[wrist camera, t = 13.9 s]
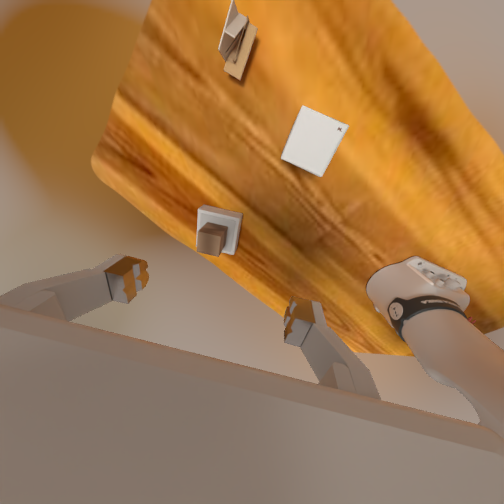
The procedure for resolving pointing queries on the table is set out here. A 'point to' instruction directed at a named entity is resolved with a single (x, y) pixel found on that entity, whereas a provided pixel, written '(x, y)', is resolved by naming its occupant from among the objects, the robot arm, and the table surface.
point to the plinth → (224, 219)
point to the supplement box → (313, 141)
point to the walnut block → (211, 239)
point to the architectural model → (236, 41)
